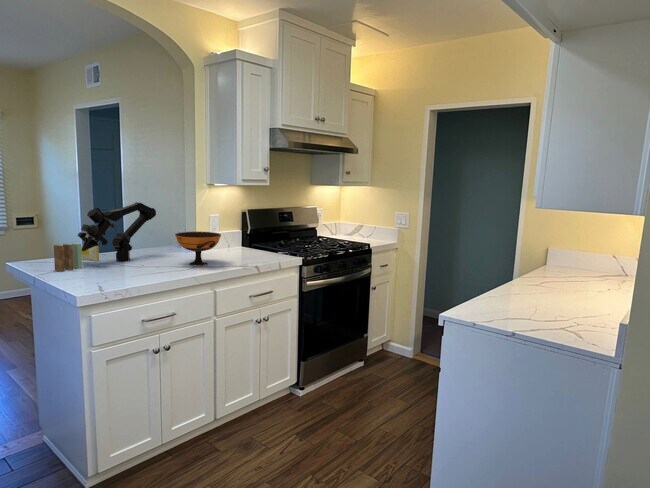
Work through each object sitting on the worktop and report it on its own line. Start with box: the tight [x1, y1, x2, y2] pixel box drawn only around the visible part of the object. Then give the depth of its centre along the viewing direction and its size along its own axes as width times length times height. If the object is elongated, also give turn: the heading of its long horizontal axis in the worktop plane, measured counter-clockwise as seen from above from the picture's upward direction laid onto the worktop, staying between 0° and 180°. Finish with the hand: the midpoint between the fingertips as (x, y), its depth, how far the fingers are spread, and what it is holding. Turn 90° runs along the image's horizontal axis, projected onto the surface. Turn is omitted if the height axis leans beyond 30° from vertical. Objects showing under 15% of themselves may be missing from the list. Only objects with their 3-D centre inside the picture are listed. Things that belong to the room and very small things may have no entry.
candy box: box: [81, 245, 100, 262], centre depth 260 cm, size 16×2×8 cm, turn 84°
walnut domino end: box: [53, 244, 65, 272], centre depth 230 cm, size 2×5×13 cm, turn 61°
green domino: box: [71, 242, 83, 270], centre depth 238 cm, size 2×5×13 cm, turn 61°
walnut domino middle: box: [62, 243, 74, 271], centre depth 234 cm, size 2×5×13 cm, turn 61°
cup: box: [174, 231, 222, 267], centre depth 261 cm, size 36×26×18 cm
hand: (82, 250), depth 241 cm, fingers closed
